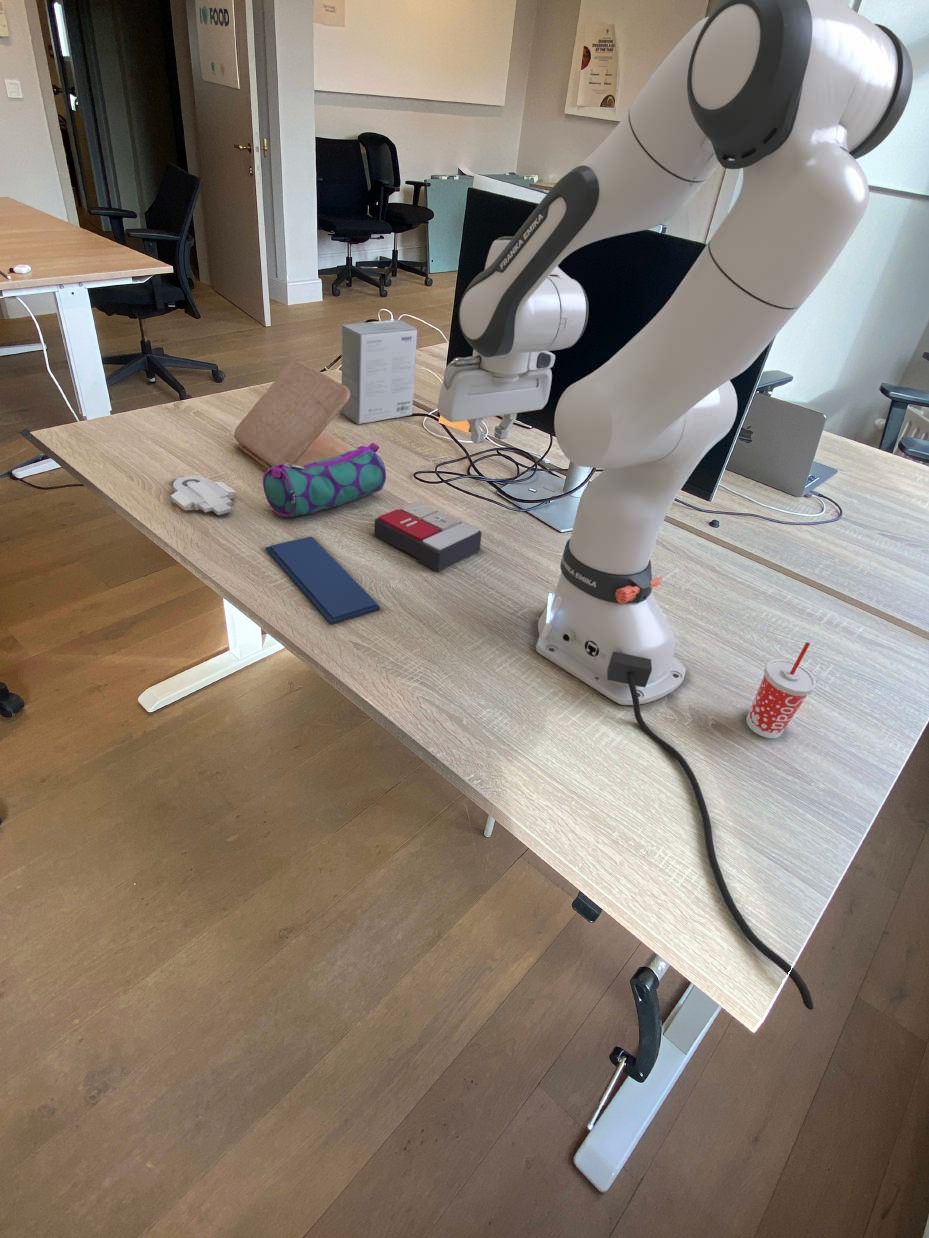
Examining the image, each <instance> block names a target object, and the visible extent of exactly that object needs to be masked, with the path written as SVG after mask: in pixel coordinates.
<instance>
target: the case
mask: <svg viewBox="0 0 929 1238" xmlns="http://www.w3.org/2000/svg"><path fill="white" fill-rule="evenodd" d="M349 398H350V391H349V389H348V388H347V387H346V386H344V385H342V383H341V382H338V381H337V380H335V379H334V378H332V377H330V376H328V375H327V374H325V373H324V372H321V371H320V370H317V369H315V368H313V367H311V366H310V365H308V364H306V363H304V362H302V361H297V360H296V361H293V362H290V363H289V364H288V365H286V367H285V368H284V369H283V370H282V372H281V373H280V374H279V375H278V377H276V379H275V380H274V382H273V383H272V384H271V385H270V386H269V387H268V388H267V390H266V391H265V392H264V393H263V394H262V396H260V398H259V399H258V401H256V403H255V404H254V406H252V408H251V409H250V410H249V411H248V413H247V414H246V415H245V416H244V418H243V419H242V420H241V421H240V423H238V425H237V426H236V427H235V430H234V431H233V437H234V439H235V441H236V442H238V444H237V446H238V448H239V449H240V450H241V451H242V452H243V453H245V454H247V455H248V456H249V457H251V458H252V459H254V460H255V461H256V462H258V463H259V464H260V465H261V466H263V467H264V468H266V469H267V470H268V469H270V468H271V467H273V466H274V465H276V464H285V463H290V464H293V465H299V466H304V465H309V464H311V463H314V462H317V461H321V460H324V459H328V458H332V457H335V456H338V455H342V454H344V453H346V452H348V451H352V450H356V449H357V448H358V447H356V446H355V445H353V444H351V443H350V442H349V441H347V440H345V439H344V438H342V437H340V436H338V435H336V434H335V433H334V432H331V431H330V430H328V429H326V428H327V427H328V425H329V424H330V423H331V422H332V421H333V419H335V417H336V416H337V415H338V414H339V413H340V411H342V408H343V407H344V406H345V404H346V403H347V402H348V400H349ZM288 465H289V464H288Z"/></svg>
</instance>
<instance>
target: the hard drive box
mask: <svg viewBox="0 0 929 1238" xmlns="http://www.w3.org/2000/svg"><path fill="white" fill-rule="evenodd" d="M418 330H419V329H418V328H417V327H416V326H414V325H412V324H409V323H407V322H405V321H403V320H401V319H389V320H377V321H369V322H357V323H348V324H341V384H342V385H344V386H346V387H347V388H348V389H349V391H350V398H349V400H348V402H347V403H346V404H345V406H344V407H343V408H342V409H341V414H342V415H343V416H345V417H346V418H348V419H349V420H351V421H352V422H354V423H355V424H357V425H362V424H367V423H375V422H378V421H379V422H380V421H383V420H384V421H385V420H389V419H398V418H403V417H407V416H412V415H413V407H414V406H413V405H414V392H415V391H414V390H415V389H414V388H415V376H416V375H415V373H416V361H417V348H418V347H417V343H418V332H419V331H418Z"/></svg>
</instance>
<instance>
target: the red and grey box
mask: <svg viewBox="0 0 929 1238" xmlns="http://www.w3.org/2000/svg"><path fill="white" fill-rule="evenodd" d="M373 532H374V536H375V537H377V538H379V539H380V540H382V541H385V542H387V543H388V544H390V545H392V546H394V547H396V548H398V549H400V550H402V551H404V552H406V553H407V554H410V555H411V556H412V557H415V558H416V559H417V560H418V561H419V563H420V564H421V565H424V566H425V567H428V568H430V569H432V570H434V571H436V572H439V571H441V570H444V569H446V568H448V567H449V566H452V565H454V564H456V563H459V562H460V561H461V560H463V559H466V558H467V557H470V556H471V555H474V554H476V553H477V552H479V551H480V549H481V542H482V531H481V530H479V529H478V528H476V527H473V526H471V525H469V524H467V523H465V522H462V521H461V520H460V519H458V518H456V517H455V516H452V515H450V514H448V513H446V512H444V511H441V510H440V511H438V509H437V508H436V507H433V506H432V505H429V504H426V503H425V502H422V501H419V500H417V501H414V502H412V503H410V504H407V505H405V506H402V507H400V509H397V508H396V509H394V510H392V511H390V512H386V513H384V514H382V515H379V516H378V517H377V518H374V530H373Z"/></svg>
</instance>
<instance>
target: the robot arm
mask: <svg viewBox="0 0 929 1238" xmlns="http://www.w3.org/2000/svg"><path fill="white" fill-rule="evenodd" d="M913 70H914V69H913V63H912V59H911V56H910V54H909V51H908V49H907V48H906V46H905V44H904V43H903V42H902V40H901V38H900V37H898V36H897V35H896V34H895V33H894V32H893V31H892V30H891V29H890V28H888V27H887V26H885V25H882V24H879V23H873V22H872V21H871V20H869V19H868V18H867V17H865V16H863V15H861V14H860V13H858V12H857V11H855V10H854V9H853V8H851V6H850V5H848V4H847V3H846V2H843V1H841V0H721V1H720V2H719V4H717V6H716V7H715V8H714V9H713V10H712V12H711V13H710V14H709V16H707V17H704V18H702V19H701V20H700V21H697V22H696V23H695V25H694V26H693V27H692V28H690V30H689V31H688V32H687V33H686V34H685V35H684V37H682V39H680V41H678V43H677V44H676V45H675V46H674V48H673V49H672V50H671V51H670V52H669V54H667V56H666V57H665V58H664V60H662V62H661V64H659V66H658V67H657V68H656V70H655V71H654V72H653V73H652V75H651V77H650V78H649V79H648V81H646V83H645V84H644V86H643V87H642V89H641V90H640V92H639V93H638V95H637V97H636V98H635V100H634V101H633V103H632V104H631V106H630V107H629V108H628V110H627V111H626V113H625V114H624V116H623V117H622V119H621V120H620V121H619V122H618V124H617V125H616V126H615V128H614V129H613V130H612V131H611V132H610V134H609V135H608V136H607V137H606V138H605V139H604V140H603V141H602V143H600V145H598V147H597V148H596V149H595V150H594V151H593V152H591V154H589V156H587V157H586V158H585V159H584V160H583V161H582V162H581V163H579V164H578V165H577V166H576V167H574V168H572V169H571V170H569V172H568V173H566V174H565V175H563V176H562V177H561V178H560V179H559V180H558V181H557V182H556V183H555V184H554V185H553V186H552V187H551V189H550V190H549V191H548V192H547V193H546V195H545V196H544V197H543V199H541V201H540V202H539V203H538V204H537V206H535V209H533V211H532V212H531V214H529V216H528V218H527V219H526V220H525V221H524V222H523V224H522V225H521V227H520V228H519V229H518V230H517V232H516V233H515V234H514V235H512V236H507V235H506V236H500V237H498V238H496V239H495V240H494V241H493V242H492V243H491V245H490V248H489V251H488V254H487V258H486V261H485V265H484V270H483V271H480V272H479V273H478V274H477V275H476V276H475V277H473V279H472V280H471V281H470V283H469V284H468V286H467V287H466V288H465V291H464V293H463V295H462V297H461V299H460V303H459V306H458V324H459V328H460V332H461V333H462V335H463V337H464V339H465V340H466V342H467V343H468V344H469V345H470V347H471V348H472V349H473V350H472V356H466V357H461V356H460V357H454V358H453V359H452V361H451V362H449V363H448V364H447V365H446V366H445V368H444V371H443V379H442V383H441V386H440V391H439V396H438V402H437V412H438V414H439V415H440V416H441V417H442V418H443V419H444V420H446V421H448V422H450V423H458V422H465V421H467V423H468V425H469V428H470V430H471V433H470V441H471V442H472V443H474V444H476V445H477V444H482V443H484V442H485V437H486V432H485V431H483V430H482V429H481V426H480V425H482V424H483V419H485V418H491V417H499V416H503V417H502V419H501V421H500V423H499V425H495V427H494V433H493V436H494V437H495V438H496V439H497V440H500V441H501V440H505V439H508V435H509V431H510V429H511V427H512V426H513V424H514V423H515V421H516V419H517V416H518V413H520V414H521V413H526V412H532V411H533V412H534V411H539V410H543V409H544V407H545V406H546V405H547V403H548V401H549V397H550V393H551V386H552V379H553V374H552V370H551V368H553V366H554V365H555V361H556V355H555V354H554V353H552V352H551V351H559V350H560V351H561V350H564V349H569V348H571V347H573V346H574V345H575V344H577V342H579V340H580V339H581V337H582V336H583V334H584V332H585V329H586V328H587V325H588V320H589V300H588V299H589V298H588V296H587V292H586V291H585V289H584V286H583V285H582V284H581V283H580V282H579V281H578V280H577V279H575V278H571V277H570V276H569V275H567V274H566V273H565V272H564V271H563V270H562V269H561V268H560V267H559V265H560V264H561V263H562V261H563V260H564V259H565V258H567V257H568V256H569V255H570V254H572V253H574V252H575V251H577V250H579V249H581V248H583V247H585V246H587V245H590V244H592V243H595V242H598V241H601V240H604V239H610V238H613V237H617V236H621V235H622V236H623V235H626V234H632V233H637V232H642V231H646V230H647V231H648V230H650V229H653V228H656V227H659V226H661V225H662V224H664V223H666V222H667V221H668V220H669V219H672V218H673V216H675V215H676V214H677V213H678V212H680V210H682V209H683V208H684V207H685V206H686V205H687V204H689V202H690V201H691V200H692V199H693V198H694V197H695V196H696V194H698V192H699V191H700V190H701V188H702V187H703V186H704V184H706V182H707V181H708V180H709V178H711V176H712V174H714V172H715V171H716V170H717V168H718V167H719V166H720V165H721V167H722V168H724V169H728V170H739V169H742V183H741V188H740V191H739V194H738V196H737V198H736V200H735V202H734V203H733V205H732V207H731V208H730V210H729V212H728V213H727V215H726V216H725V218H724V219H723V220H722V221H721V224H719V226H718V227H717V229H716V230H715V232H714V233H713V235H712V236H711V238H710V240H709V241H708V242H707V243H706V245H705V247H704V248H703V250H702V251H701V253H700V254H699V256H698V257H697V258H696V260H695V262H694V263H693V264H692V266H691V267H690V269H689V270H688V272H687V273H686V275H685V276H684V278H683V279H682V280H681V282H680V283H679V285H678V286H677V287H676V289H675V290H674V292H673V293H672V294H671V297H670V298H669V299H668V301H666V303H665V304H664V306H662V308H661V309H660V310H659V311H658V313H656V315H655V316H654V317H653V318H652V319H651V320H650V321H649V322H648V323H647V324H645V326H644V327H642V328H641V330H640V331H638V333H636V334H635V335H634V336H633V337H632V338H631V339H630V340H629V341H628V342H627V343H625V345H624V346H623V347H622V348H620V349H619V350H618V351H617V352H616V353H614V355H613V356H611V357H610V358H609V360H607V361H606V362H605V363H603V364H602V365H601V366H600V367H598V368H597V369H596V370H594V371H593V372H591V373H589V374H587V375H586V376H584V377H583V378H581V379H579V380H577V381H576V382H574V383H572V384H570V385H569V386H568V387H567V388H566V389H565V390H564V391H563V392H562V394H561V396H560V397H559V399H558V402H557V405H556V408H555V411H554V420H553V421H554V422H553V427H554V435H555V439H556V441H557V445H558V446H559V448H560V450H561V452H562V454H563V455H564V456H565V457H566V459H568V461H570V462H571V463H573V464H574V465H576V466H578V467H581V468H582V467H583V468H591V469H600V470H601V469H602V471H601V472H600V473H599V474H598V475H597V476H596V477H595V478H593V479H592V480H591V481H590V482H589V483H588V485H587V486H586V487H585V488H584V490H583V491H582V493H581V495H580V498H579V502H578V506H577V510H576V514H575V518H574V522H573V526H572V530H571V535H570V537H569V539H567V541H566V543H565V545H564V550H563V553H562V556H561V560H560V566H559V568H560V574H559V578H558V580H557V583H556V586H555V587H554V590H553V593H549V594H548V599H547V604H546V605H547V606H546V607H545V609H544V611H543V613H542V614H541V615H540V617H539V618H538V621H537V632H538V639H537V642H536V644H535V650H536V652H537V653H538V654H539V655H540V656H543V657H544V658H546V659H547V660H549V661H550V662H552V663H554V664H555V665H557V666H558V667H560V668H561V669H563V670H564V671H565V672H567V673H569V674H571V675H572V676H574V677H575V678H577V679H579V680H580V681H581V682H583V683H585V684H586V685H588V686H590V687H591V688H593V690H595V691H597V692H599V693H600V694H602V695H603V696H605V697H607V698H608V699H610V700H612V701H613V702H615V703H617V704H618V705H623V706H633V714H634V718H635V721H636V722H637V725H638V726H639V728H640V729H641V730H642V731H643V732H644V733H645V734H646V735H647V736H648V737H649V738H650V739H651V740H653V742H655V743H656V744H658V746H660V747H661V748H662V749H664V750H665V751H666V752H668V753H669V754H670V755H671V756H672V757H673V758H674V759H675V760H676V762H677V763H679V765H680V767H681V768H682V770H683V772H684V773H685V774H686V777H687V778H688V781H689V783H690V785H691V787H692V791H693V794H694V796H695V800H696V803H697V806H698V809H699V812H700V816H701V819H702V820H701V821H702V825H703V826H702V827H703V832H704V842H705V849H706V852H707V858H708V861H709V864H710V868H711V871H712V874H713V877H714V879H715V882H716V884H717V888H718V890H719V892H720V895H721V897H722V899H723V901H724V903H725V905H726V907H727V909H728V911H729V913H730V914H731V917H732V918H733V919H734V921H735V924H736V925H737V926H738V927H739V929H740V931H741V932H742V933H743V935H744V936H745V938H747V940H748V941H749V943H751V944H752V946H753V947H755V949H757V950H758V951H759V952H760V953H761V954H763V956H764V957H766V958H767V959H769V960H770V961H771V962H772V963H773V964H775V965H776V967H778V968H779V969H781V970H782V971H783V972H784V973H785V974H786V975H787V976H788V972H789V971H790V970H791V967H793V966H792V965H791V964H790V963H788V961H786V960H785V959H784V958H782V957H781V956H780V955H778V953H776V952H775V951H774V950H772V949H771V948H770V947H769V946H767V945H766V944H765V943H764V942H763V941H762V940H760V938H759V937H758V936H757V935H756V934H755V933H754V931H753V930H752V929H751V927H750V926H749V925H748V923H747V922H746V920H745V919H744V917H743V916H742V914H741V912H740V910H739V909H738V907H737V905H736V903H735V902H734V900H733V897H732V896H731V893H730V891H729V888H728V886H727V883H726V881H725V878H724V876H723V873H722V870H721V868H720V865H719V862H718V859H717V855H716V851H715V845H714V839H713V832H712V831H713V830H712V824H711V819H710V814H709V811H708V809H707V808H708V807H707V804H706V802H705V799H704V796H703V792H702V790H701V787H700V784H699V782H698V779H697V777H696V776H695V775H696V774H695V773H694V772H693V770H692V768H691V767H690V765H689V763H688V762H687V760H686V759H685V758H684V757H683V755H682V754H681V753H680V752H679V751H678V750H677V749H676V748H675V747H673V746H672V745H670V744H669V743H667V742H666V741H665V740H663V739H662V738H661V737H659V736H658V735H656V733H654V732H653V730H651V729H650V728H649V726H648V725H647V724H646V722H645V721H644V718H643V717H642V716H643V715H642V713H641V705H644V704H648V703H652V702H654V701H657V700H659V699H661V698H664V697H665V696H667V695H669V694H671V693H673V692H674V691H675V690H677V688H679V687H680V686H681V684H682V683H683V681H684V678H685V675H686V672H687V668H686V667H685V665H684V664H683V663H682V662H681V661H680V660H679V659H678V658H677V657H676V655H675V654H676V648H677V636H676V633H675V632H676V631H675V630H674V629H673V627H672V625H671V624H670V622H669V621H668V618H667V614H666V613H665V612H664V611H663V610H662V608H661V606H660V603H658V601H657V599H656V597H655V595H654V593H653V592H652V591H653V589H654V588H655V587H658V586H659V585H661V581H662V579H663V576H659V577H656V578H654V579H653V573H652V561H651V558H652V557H651V556H652V554H653V552H654V549H655V546H656V543H657V541H658V537H659V535H660V531H661V528H662V526H663V523H664V521H665V519H666V517H667V514H668V512H669V510H670V508H671V506H672V505H673V502H674V501H675V500H676V499H677V497H678V495H679V493H680V491H681V490H682V488H683V487H684V485H685V484H686V482H687V481H688V480H689V477H690V476H691V475H692V474H693V472H694V471H695V469H696V468H697V466H698V465H699V464H700V462H701V461H702V459H703V458H704V457H705V456H706V455H707V454H708V452H709V451H710V450H711V449H713V447H714V446H716V444H718V443H719V442H720V441H721V440H722V439H724V438H725V436H727V434H728V433H729V432H730V431H731V430H732V428H733V425H734V423H735V421H736V417H737V413H738V396H737V393H736V389H735V387H734V384H733V383H732V382H731V380H732V379H734V378H736V377H737V376H739V375H740V374H742V373H744V372H745V371H746V370H748V368H749V367H750V366H752V365H753V363H754V362H755V361H756V360H757V359H758V358H759V356H760V355H761V354H762V353H763V352H764V351H765V349H766V348H767V347H768V346H769V345H770V343H771V342H772V341H773V340H774V339H775V337H776V336H777V335H778V334H779V333H780V331H782V329H784V327H785V325H787V323H788V322H789V321H790V320H791V318H792V317H793V316H794V315H795V314H796V313H797V311H798V310H799V309H800V308H801V306H802V305H803V304H804V303H805V302H806V301H807V299H808V298H809V297H810V296H811V294H812V293H813V292H814V291H815V289H816V288H817V287H818V286H819V284H820V283H821V281H822V280H823V279H824V278H825V276H826V275H827V274H828V272H829V271H830V269H831V267H832V266H833V265H834V264H835V262H836V260H837V259H838V257H839V256H840V254H841V253H842V251H843V250H844V249H845V247H846V245H847V243H848V242H849V241H850V239H851V237H852V235H853V234H854V232H855V230H856V229H857V227H858V225H859V224H860V222H861V220H862V219H863V216H864V215H865V212H866V210H867V207H868V204H869V198H870V188H869V182H868V180H867V179H868V178H867V176H866V173H865V171H864V170H863V168H862V166H861V164H860V163H859V162H858V161H857V160H858V159H860V158H863V157H864V156H866V155H868V154H869V153H871V152H872V151H873V150H874V149H876V148H877V147H878V146H879V145H880V144H882V143H883V141H885V140H886V138H888V136H889V135H890V134H891V133H892V132H893V130H895V127H896V126H897V124H898V123H899V121H900V119H901V118H902V116H903V114H904V112H905V110H906V107H907V105H908V102H909V99H910V97H911V93H912V89H913V82H914V81H913V80H914V71H913ZM729 159H730V160H729ZM788 977H789V978H790V980H791V981H792V982H793V983H794V985H795V986H796V988H797V990H798V992H799V994H800V996H801V999H802V1003H803V1005H804V1006H805V1008H806V1009H807V1010H809V1011H813V1010H814V1003H813V998H812V996H811V992H810V990H809V988H808V986H807V984H806V982H805V980H804V979H803V977H802V976H801V975H800V974H799V972H798V971H796V969H795V968H794V967H793V968H792V970H791V972H790V974H789V976H788Z"/></svg>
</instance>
